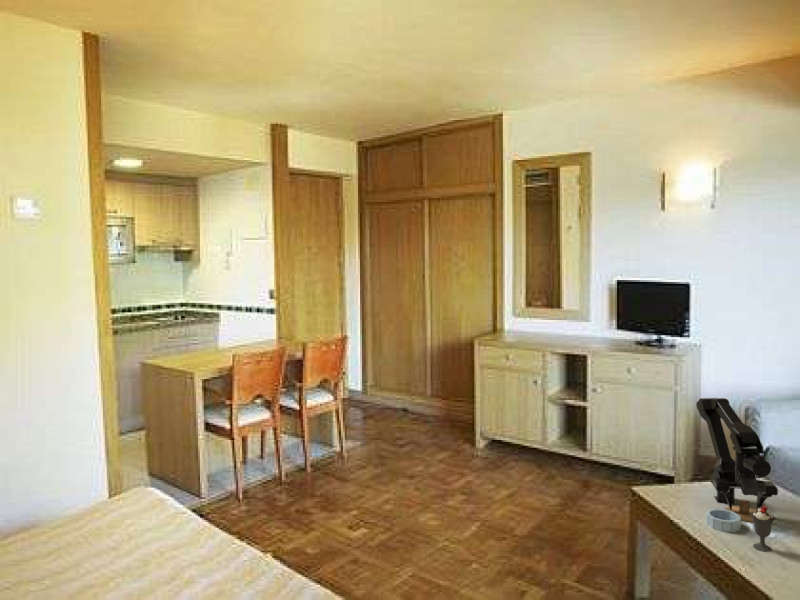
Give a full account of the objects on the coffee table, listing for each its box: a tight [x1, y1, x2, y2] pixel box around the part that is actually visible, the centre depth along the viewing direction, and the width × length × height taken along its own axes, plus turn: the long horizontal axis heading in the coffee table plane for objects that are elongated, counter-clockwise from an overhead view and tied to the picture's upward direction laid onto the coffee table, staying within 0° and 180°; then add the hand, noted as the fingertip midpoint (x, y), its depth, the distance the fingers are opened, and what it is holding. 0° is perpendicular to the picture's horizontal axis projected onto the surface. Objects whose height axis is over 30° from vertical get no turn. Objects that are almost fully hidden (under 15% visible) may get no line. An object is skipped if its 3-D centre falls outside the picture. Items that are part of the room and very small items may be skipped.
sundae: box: [750, 502, 776, 553], centre depth 179 cm, size 7×7×15 cm
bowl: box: [705, 508, 742, 533], centre depth 194 cm, size 10×10×4 cm
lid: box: [724, 498, 757, 523], centre depth 201 cm, size 12×12×5 cm
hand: (744, 510), depth 201 cm, fingers open, 8 cm apart
